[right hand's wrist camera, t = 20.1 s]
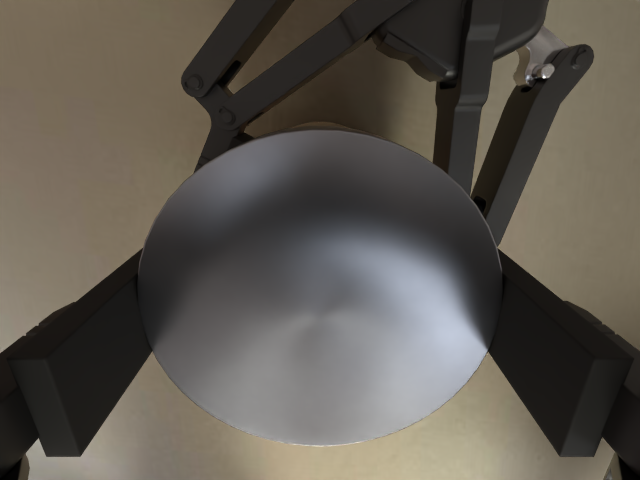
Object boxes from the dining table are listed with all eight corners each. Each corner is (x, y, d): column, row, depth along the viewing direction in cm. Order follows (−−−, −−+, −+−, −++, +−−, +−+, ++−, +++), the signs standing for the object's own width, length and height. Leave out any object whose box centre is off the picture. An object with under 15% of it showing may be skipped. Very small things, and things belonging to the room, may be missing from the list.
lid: (495, 368, 13) (521, 407, 11) (236, 429, 14) (225, 473, 13) (446, 72, 9) (474, 65, 8) (103, 188, 11) (61, 204, 9)
